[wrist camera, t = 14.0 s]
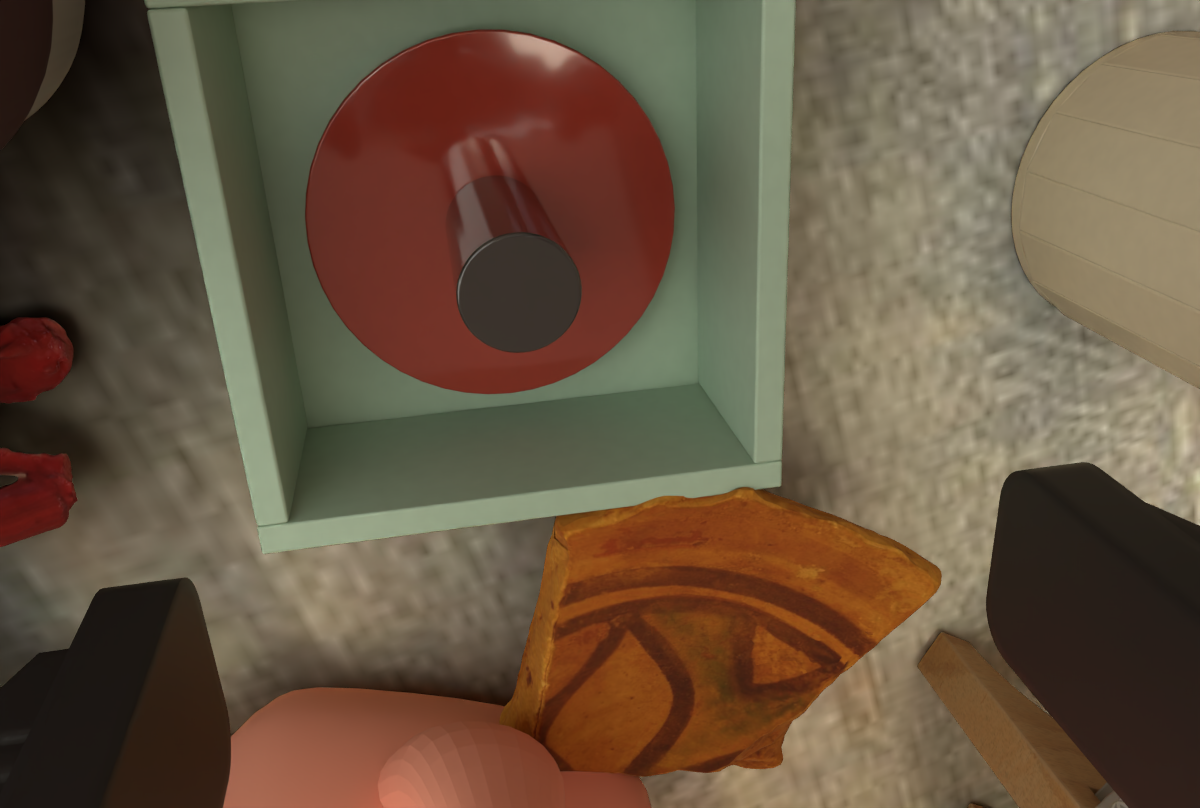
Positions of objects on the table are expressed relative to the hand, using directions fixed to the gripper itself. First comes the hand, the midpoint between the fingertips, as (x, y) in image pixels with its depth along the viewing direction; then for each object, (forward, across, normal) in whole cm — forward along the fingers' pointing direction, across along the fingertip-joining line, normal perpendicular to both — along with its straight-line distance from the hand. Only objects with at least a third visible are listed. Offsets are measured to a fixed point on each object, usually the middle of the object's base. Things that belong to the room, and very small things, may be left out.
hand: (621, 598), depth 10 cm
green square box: (+17, 0, 0) cm, 17 cm away
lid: (+16, 0, 0) cm, 16 cm away
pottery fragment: (+14, -4, +10) cm, 18 cm away
